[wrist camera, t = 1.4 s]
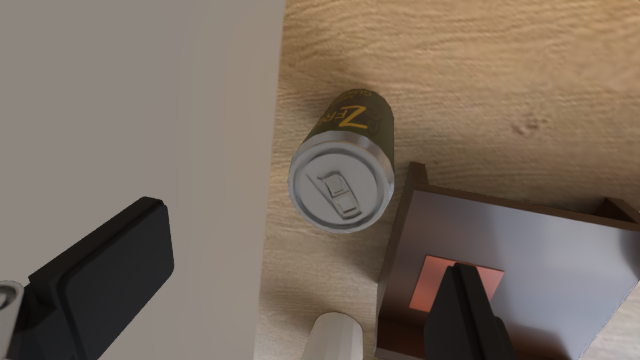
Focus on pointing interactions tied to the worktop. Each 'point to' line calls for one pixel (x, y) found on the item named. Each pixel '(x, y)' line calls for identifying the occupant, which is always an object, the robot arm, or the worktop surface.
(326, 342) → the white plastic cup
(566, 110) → the worktop surface
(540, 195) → the worktop surface
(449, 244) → the shelf
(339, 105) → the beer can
